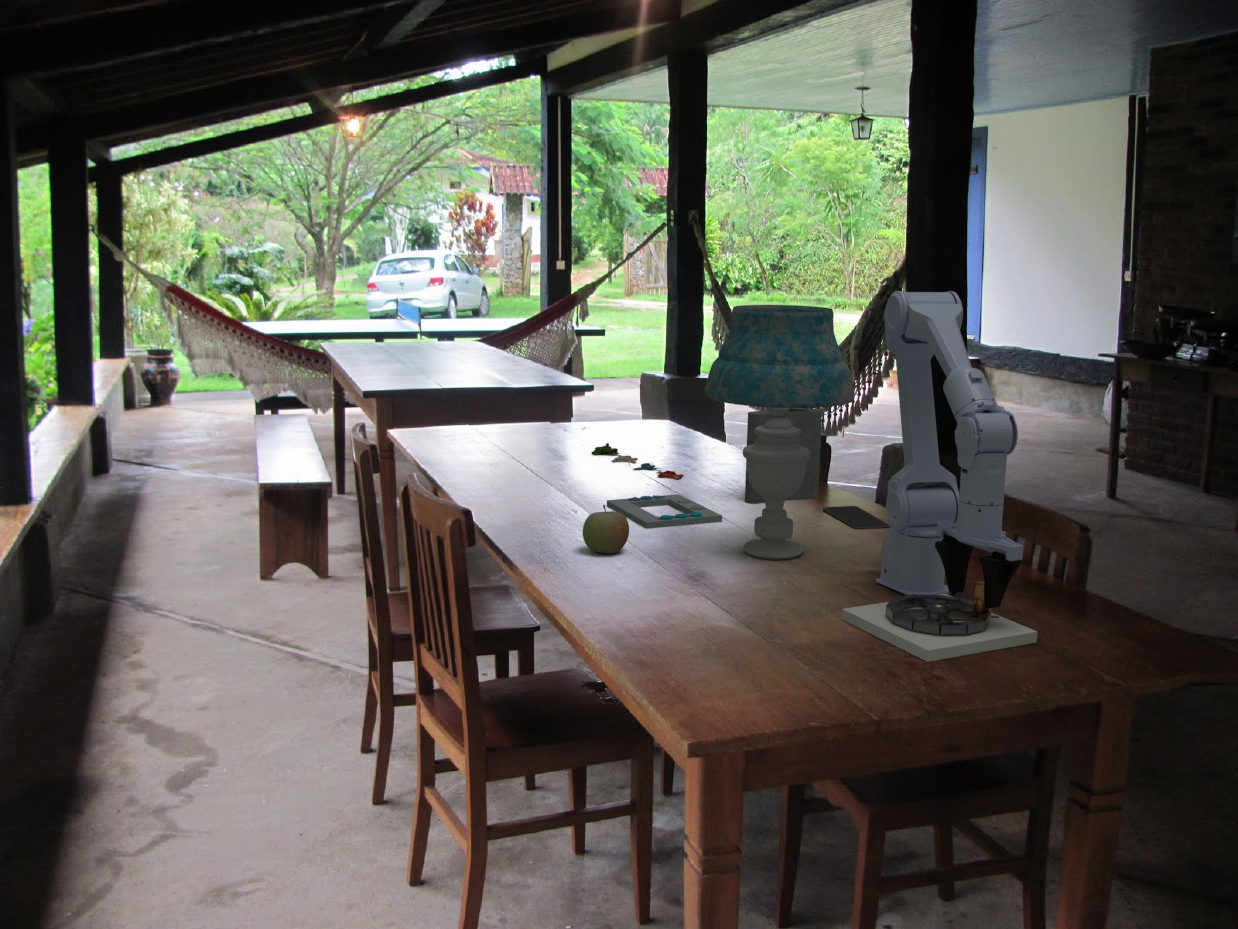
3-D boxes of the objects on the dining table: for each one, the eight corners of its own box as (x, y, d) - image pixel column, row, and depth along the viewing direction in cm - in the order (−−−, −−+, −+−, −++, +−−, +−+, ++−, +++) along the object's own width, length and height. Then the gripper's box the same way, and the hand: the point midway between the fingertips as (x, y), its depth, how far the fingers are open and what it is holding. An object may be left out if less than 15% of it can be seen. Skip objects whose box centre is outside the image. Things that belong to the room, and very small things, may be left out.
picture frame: (606, 497, 233) (678, 491, 239) (606, 509, 233) (677, 503, 239) (646, 520, 216) (722, 513, 222) (646, 532, 217) (721, 525, 223)
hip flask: (749, 504, 236) (753, 401, 233) (739, 499, 240) (743, 398, 236) (821, 498, 242) (825, 397, 239) (810, 494, 246) (814, 395, 242)
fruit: (603, 560, 196) (604, 512, 195) (574, 551, 202) (574, 503, 200) (638, 552, 201) (639, 505, 200) (609, 543, 207) (610, 497, 205)
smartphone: (854, 527, 218) (820, 507, 232) (854, 533, 218) (820, 511, 233) (892, 525, 220) (856, 505, 234) (892, 530, 220) (856, 510, 234)
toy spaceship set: (583, 455, 286) (584, 442, 285) (607, 452, 289) (607, 440, 288) (664, 483, 256) (665, 469, 255) (690, 481, 259) (690, 467, 259)
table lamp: (753, 580, 186) (763, 315, 179) (673, 543, 207) (679, 304, 199) (876, 562, 198) (891, 311, 190) (788, 528, 218) (798, 301, 210)
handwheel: (902, 634, 158) (905, 599, 157) (876, 602, 171) (877, 570, 170) (1008, 634, 158) (1011, 599, 158) (973, 602, 171) (976, 570, 170)
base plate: (841, 619, 169) (842, 608, 169) (944, 603, 177) (945, 592, 176) (927, 662, 153) (928, 649, 153) (1036, 642, 161) (1037, 631, 160)
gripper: (1043, 510, 159) (1035, 610, 162) (967, 488, 172) (960, 581, 175) (1002, 515, 156) (994, 617, 159) (927, 492, 169) (921, 587, 172)
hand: (974, 599), depth 167 cm, fingers open, 7 cm apart
